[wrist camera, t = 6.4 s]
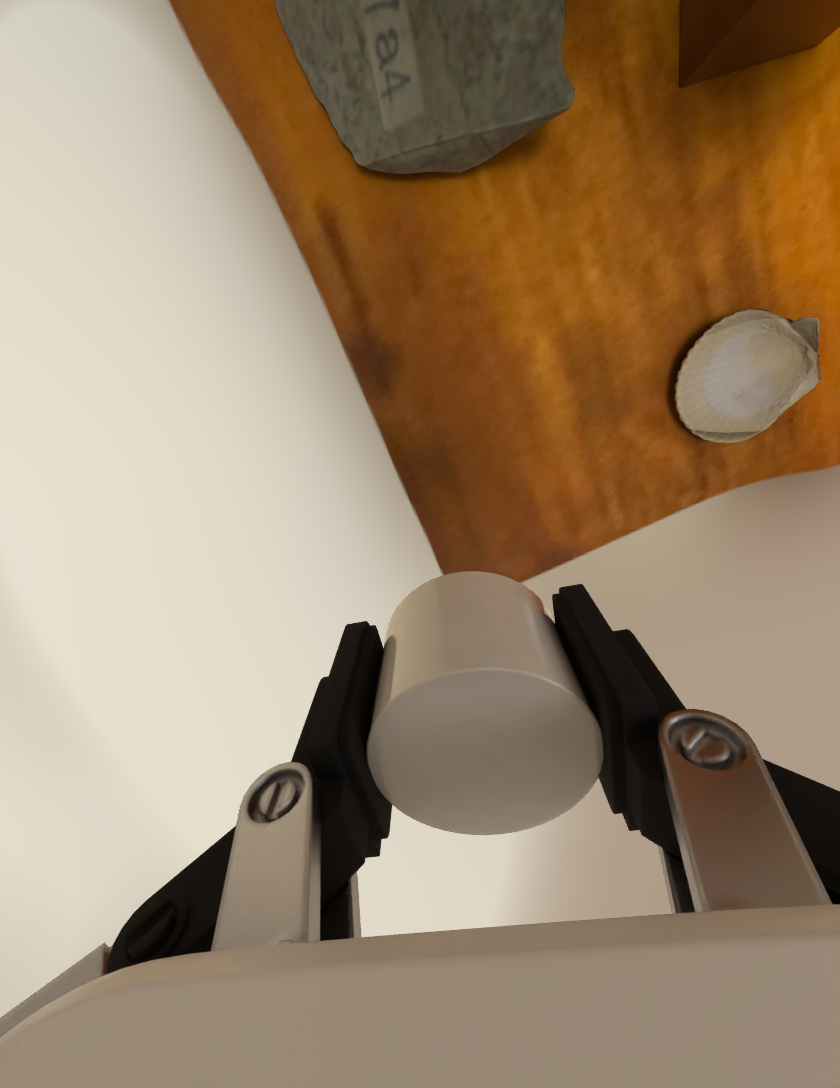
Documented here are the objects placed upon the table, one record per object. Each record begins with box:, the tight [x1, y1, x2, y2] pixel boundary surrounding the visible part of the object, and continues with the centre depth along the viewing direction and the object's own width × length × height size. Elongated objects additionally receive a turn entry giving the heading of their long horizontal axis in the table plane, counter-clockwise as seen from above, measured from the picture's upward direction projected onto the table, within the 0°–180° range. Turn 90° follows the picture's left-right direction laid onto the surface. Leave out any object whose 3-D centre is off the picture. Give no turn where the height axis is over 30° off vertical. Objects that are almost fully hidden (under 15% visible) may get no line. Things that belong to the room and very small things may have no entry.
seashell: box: [674, 309, 821, 443], centre depth 28 cm, size 8×3×8 cm
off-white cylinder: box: [366, 571, 604, 835], centre depth 10 cm, size 5×5×4 cm
